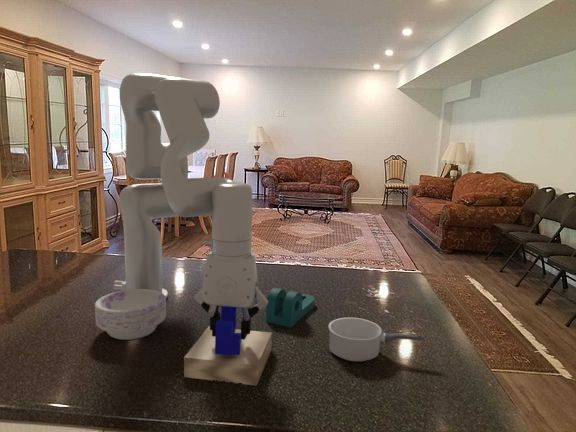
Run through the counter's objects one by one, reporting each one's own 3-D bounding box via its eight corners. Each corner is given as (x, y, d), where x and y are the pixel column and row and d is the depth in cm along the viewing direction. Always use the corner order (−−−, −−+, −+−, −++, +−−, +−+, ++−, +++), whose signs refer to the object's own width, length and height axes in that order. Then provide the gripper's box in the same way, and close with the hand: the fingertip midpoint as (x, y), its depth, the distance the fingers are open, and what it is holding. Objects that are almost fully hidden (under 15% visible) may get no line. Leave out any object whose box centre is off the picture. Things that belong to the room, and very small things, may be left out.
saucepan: (424, 375, 86) (426, 349, 85) (323, 361, 91) (324, 336, 90) (419, 349, 97) (422, 325, 96) (330, 337, 102) (331, 314, 101)
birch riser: (184, 377, 83) (183, 357, 82) (208, 343, 96) (208, 326, 96) (256, 385, 81) (257, 365, 80) (271, 350, 94) (271, 332, 94)
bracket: (290, 328, 106) (291, 297, 105) (265, 322, 109) (266, 292, 107) (317, 304, 122) (319, 277, 121) (295, 299, 125) (296, 273, 123)
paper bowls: (113, 316, 109) (112, 286, 107) (174, 319, 108) (174, 288, 107) (83, 345, 94) (81, 310, 92) (153, 348, 93) (153, 313, 92)
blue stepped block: (239, 354, 81) (240, 324, 80) (215, 354, 81) (215, 324, 80) (243, 326, 93) (243, 300, 92) (221, 326, 93) (222, 299, 92)
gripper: (181, 248, 82) (182, 339, 85) (271, 255, 79) (268, 348, 83) (196, 239, 89) (196, 323, 92) (278, 245, 87) (275, 331, 90)
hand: (230, 334), depth 87 cm, fingers closed on blue stepped block, 5 cm apart
